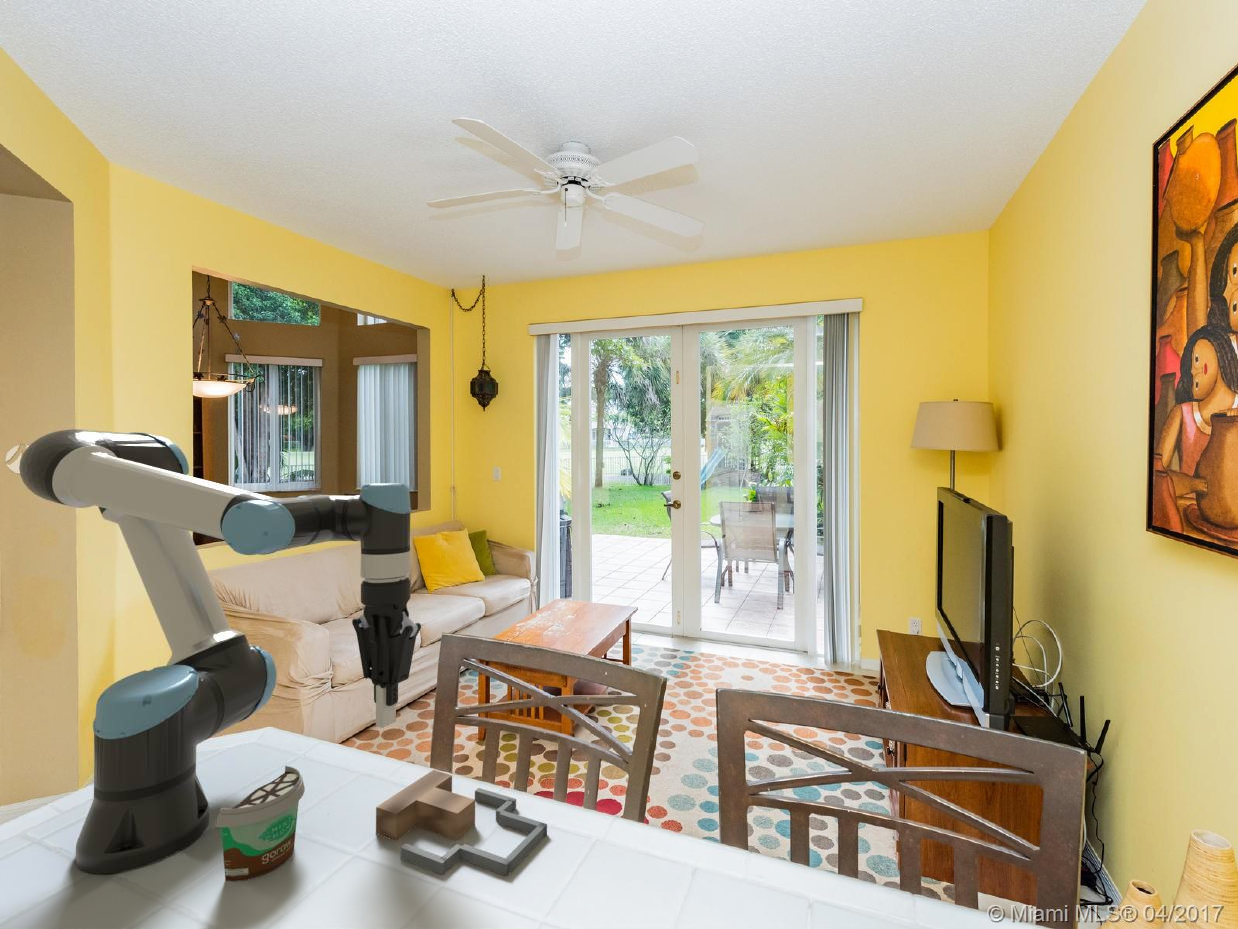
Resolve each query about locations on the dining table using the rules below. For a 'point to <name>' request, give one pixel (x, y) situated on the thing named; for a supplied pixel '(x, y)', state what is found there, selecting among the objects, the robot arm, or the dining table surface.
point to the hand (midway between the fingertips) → (385, 723)
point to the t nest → (479, 856)
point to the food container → (261, 828)
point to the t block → (426, 809)
